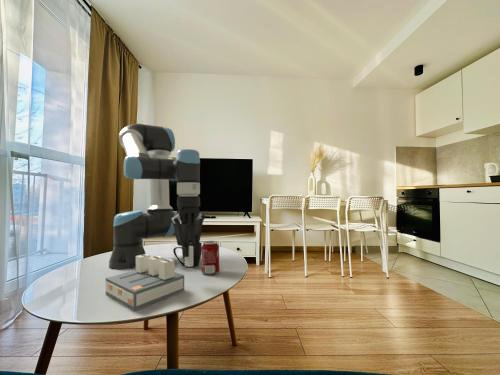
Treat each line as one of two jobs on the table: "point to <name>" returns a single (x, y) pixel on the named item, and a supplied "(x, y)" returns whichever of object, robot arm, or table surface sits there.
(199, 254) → the mug
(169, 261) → the slider near
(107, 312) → the table surface
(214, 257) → the soda can
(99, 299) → the table surface
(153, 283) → the console
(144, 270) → the block
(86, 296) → the table surface
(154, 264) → the slider mid
